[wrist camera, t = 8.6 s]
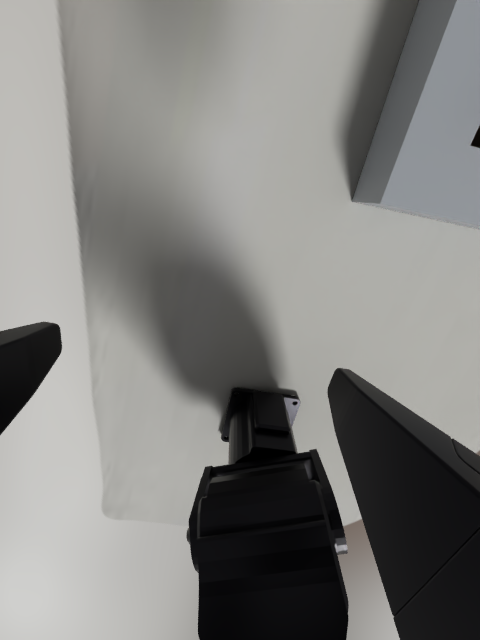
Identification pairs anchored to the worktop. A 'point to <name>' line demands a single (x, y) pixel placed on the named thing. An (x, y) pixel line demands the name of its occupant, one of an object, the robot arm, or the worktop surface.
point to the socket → (431, 121)
